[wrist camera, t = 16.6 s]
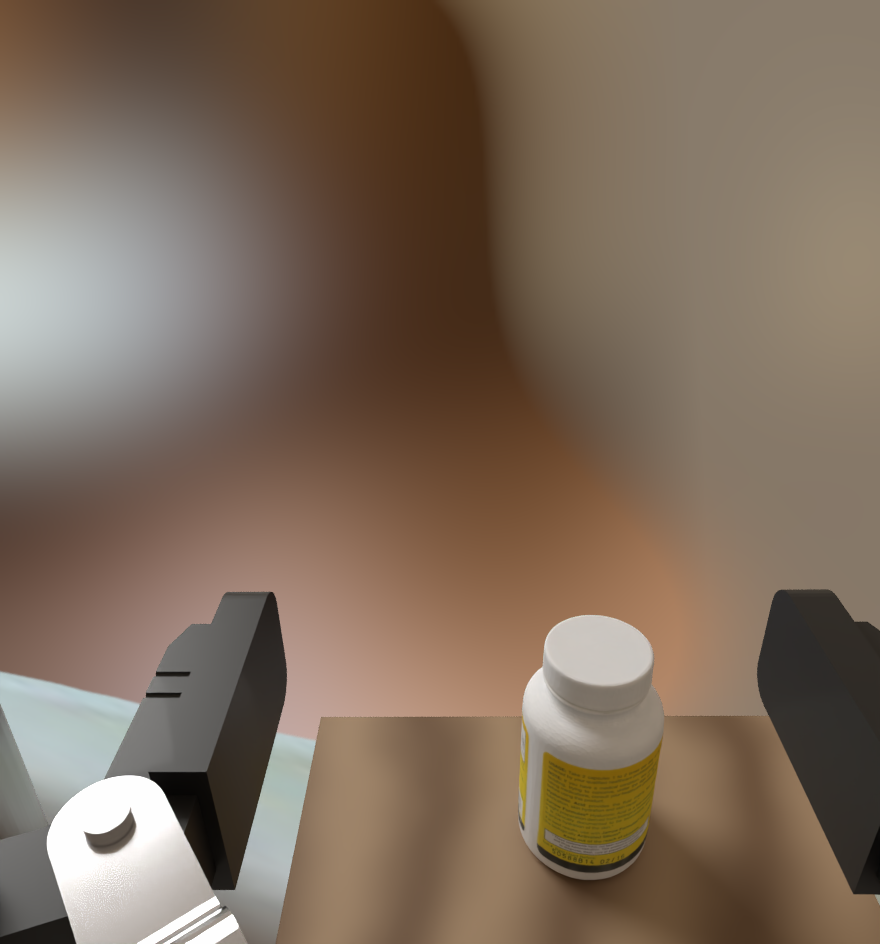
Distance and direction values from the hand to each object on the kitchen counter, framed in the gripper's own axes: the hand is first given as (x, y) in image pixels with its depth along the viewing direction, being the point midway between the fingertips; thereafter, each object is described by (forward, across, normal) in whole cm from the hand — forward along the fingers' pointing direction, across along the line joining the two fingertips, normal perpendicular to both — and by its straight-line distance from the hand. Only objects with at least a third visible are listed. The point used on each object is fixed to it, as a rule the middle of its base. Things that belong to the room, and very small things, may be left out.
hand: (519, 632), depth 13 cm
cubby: (+12, -4, +36) cm, 38 cm away
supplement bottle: (+12, -4, +21) cm, 25 cm away
